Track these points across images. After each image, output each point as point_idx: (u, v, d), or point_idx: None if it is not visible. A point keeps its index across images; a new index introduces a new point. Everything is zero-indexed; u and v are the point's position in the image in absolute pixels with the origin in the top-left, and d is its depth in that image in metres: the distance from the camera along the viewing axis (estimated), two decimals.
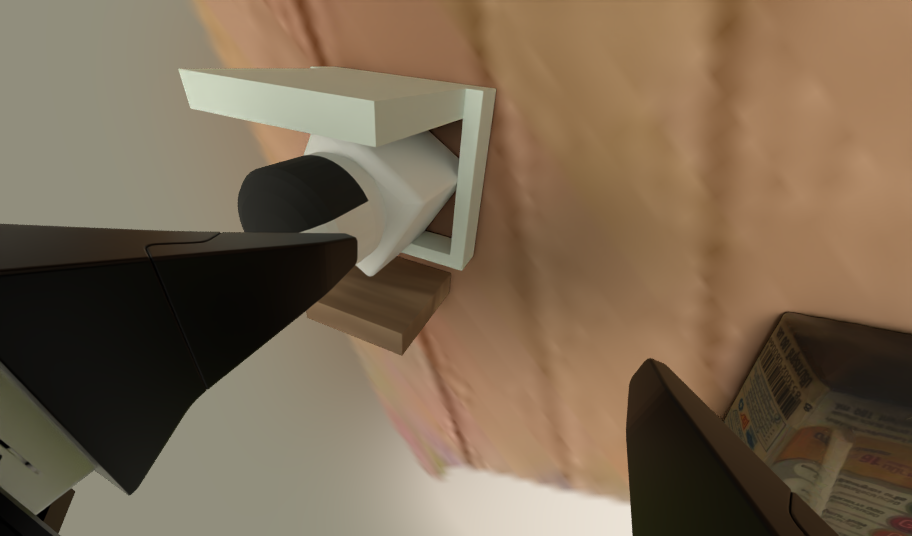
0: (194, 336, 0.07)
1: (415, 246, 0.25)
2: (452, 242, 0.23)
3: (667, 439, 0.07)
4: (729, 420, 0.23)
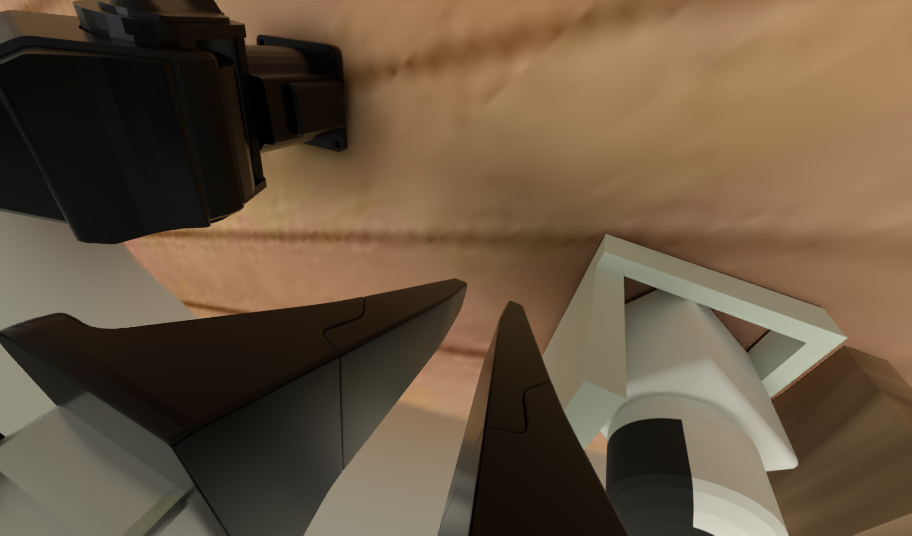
0: (343, 418, 0.06)
1: (769, 377, 0.18)
2: (784, 333, 0.17)
3: (488, 357, 0.07)
4: None
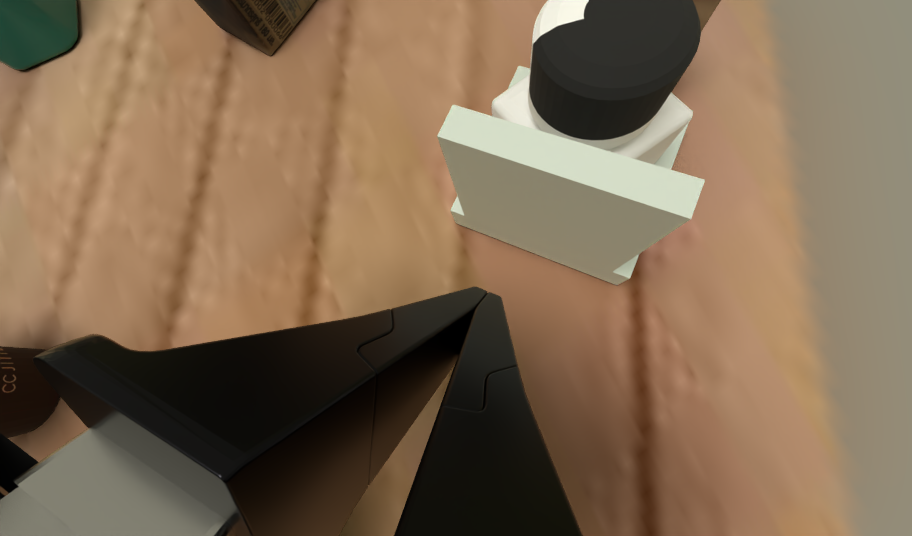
0: None
1: None
2: None
3: None
4: None
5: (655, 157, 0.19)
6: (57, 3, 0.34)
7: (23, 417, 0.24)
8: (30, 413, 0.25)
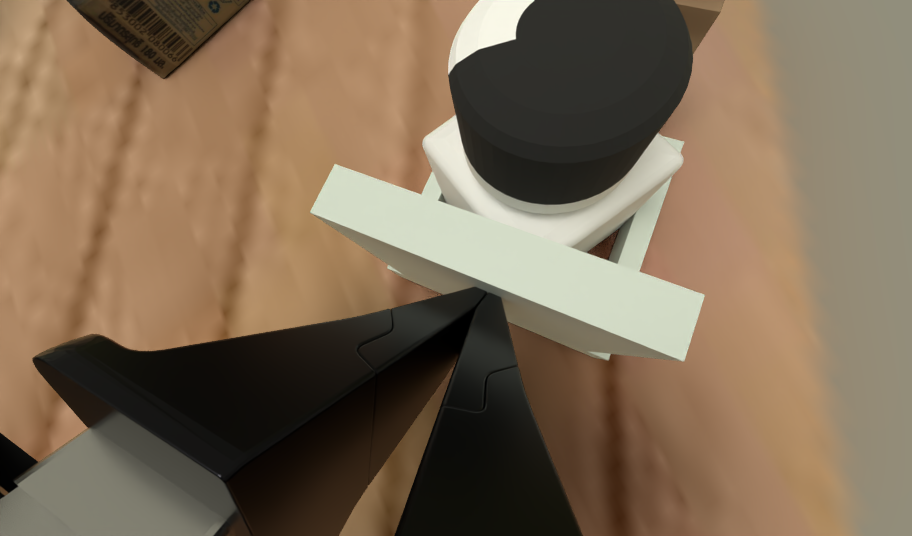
0: None
1: None
2: None
3: None
4: None
5: (637, 207, 0.14)
6: None
7: None
8: None
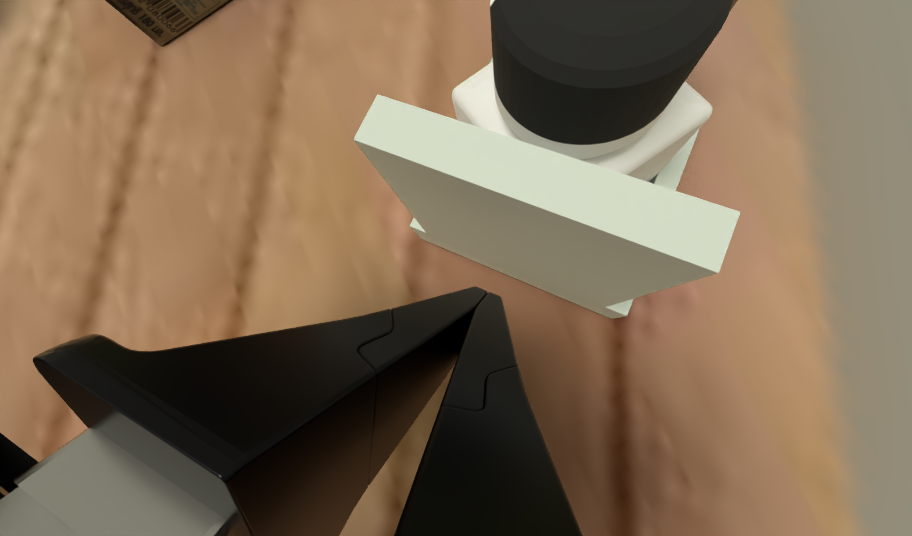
0: None
1: None
2: None
3: None
4: None
5: (661, 164, 0.15)
6: None
7: None
8: None
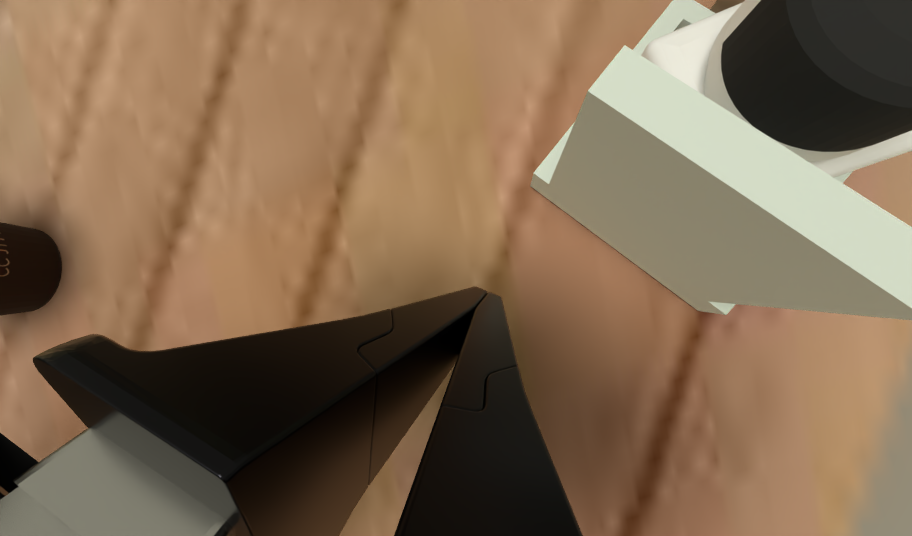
0: None
1: None
2: None
3: None
4: None
5: None
6: None
7: (19, 301, 0.24)
8: (26, 298, 0.24)
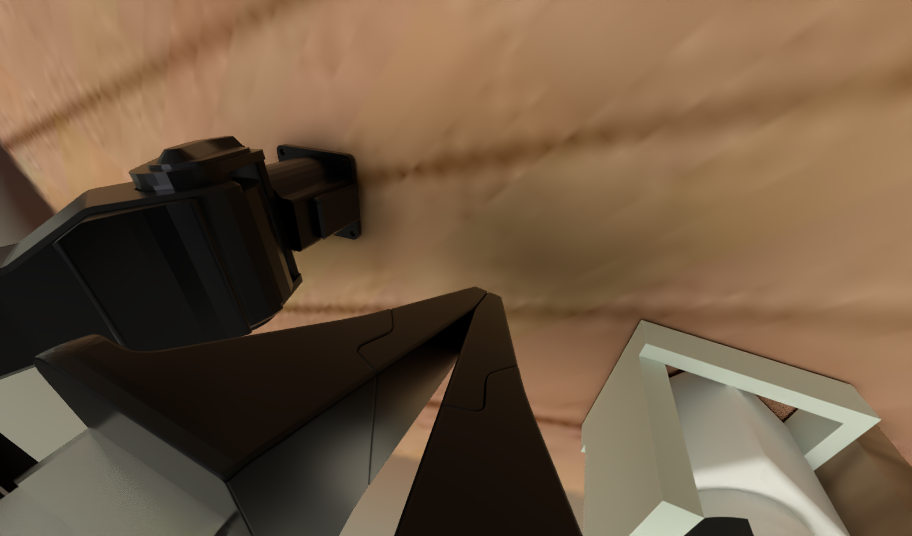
0: None
1: (810, 452, 0.19)
2: (822, 415, 0.18)
3: None
4: None
5: None
6: None
7: None
8: None
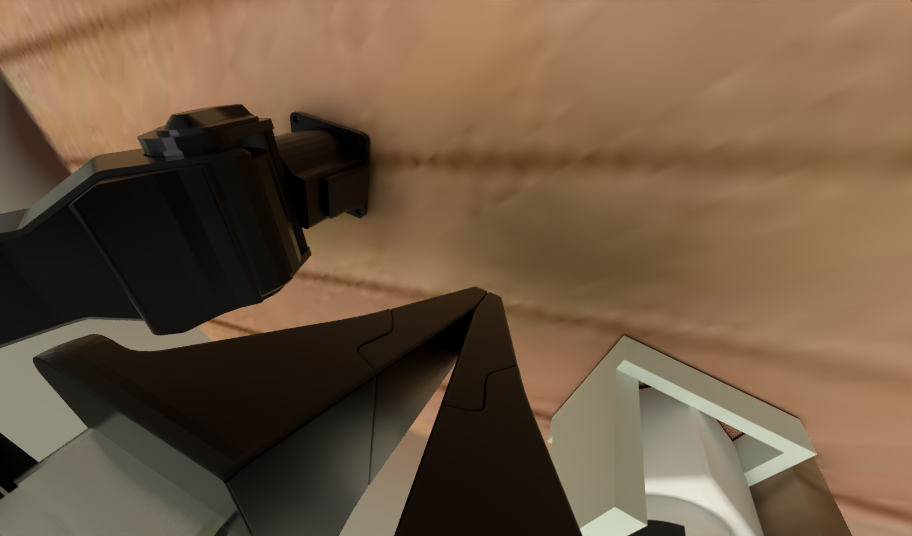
0: None
1: (750, 471, 0.22)
2: (767, 443, 0.20)
3: None
4: None
5: None
6: None
7: None
8: None
